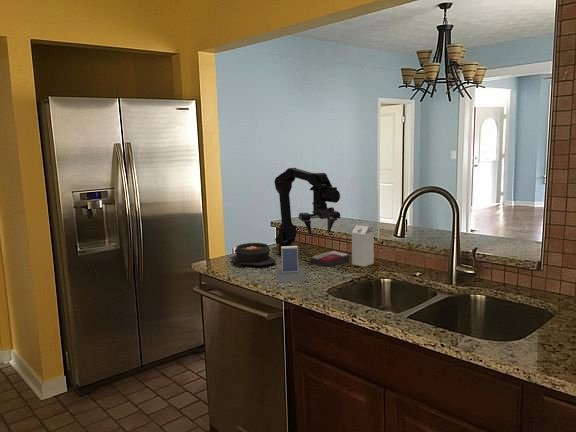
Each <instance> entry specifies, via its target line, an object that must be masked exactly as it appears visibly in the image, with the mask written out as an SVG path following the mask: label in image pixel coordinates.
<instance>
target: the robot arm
mask: <svg viewBox="0 0 576 432" xmlns="http://www.w3.org/2000/svg"><path fill="white" fill-rule="evenodd" d="M296 179H298V180H299V179H300V180H303V181H306V182H307V183H308V184H309V185H311V187H310V188H309V191H312V193H313V194H312V201H313V202H311V203H312V206H313V207H312V208H313V209H312V211H311V212H312V213H308V212H299V214H298V219H299V220H300V221H302V222H303V223H304V224H305V227H306V230H307V232H308V234H309V235H310V236H311V235H312V226H311V223H312V220H311V219H317V218H319V219H320V220H324V219H325V220H327V221H326V222H327V225H326V226H327V234H331V231H332V227H333V225H334V223H335V222H336V221H338V220H339V219H341V213H340V211H336V210H335V208H334V207H328V203H338V202H339V201H340V199H341V194H340V191H339V190H338V187H336V186H334V187H333V185H332V183H331V181H330V179H329V177H328V175H327V173H325V172H311V171H306V170H303V169H300V168H296V167H289V168H287V169H286V170H285V171H284V172H282V173H281V174H279V175H277V176H276V177H275V179H274V180H273V181H274V187H275V191H276V192H277V193H278V197H279V209H280V219H281V223H280V226H279V228H278V234H277V236H276V238H274V241H275V244H278V253H276V255H277V256H281V246H293V242H295V240H296V238H297V233H298V232H297V225H294V224H293V221H292V212H291V211H292V210H291V199H290V192H291V191H292V188H293V183H294V182H295V180H296ZM326 202H327V203H326Z"/></svg>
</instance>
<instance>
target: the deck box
mask: <svg viewBox="0 0 576 432" xmlns="http://www.w3.org/2000/svg"><path fill="white" fill-rule="evenodd" d="M280 256H281V269H282V273H286V272H298V268H299V246H298V245H292V246H281V255H280Z"/></svg>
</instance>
